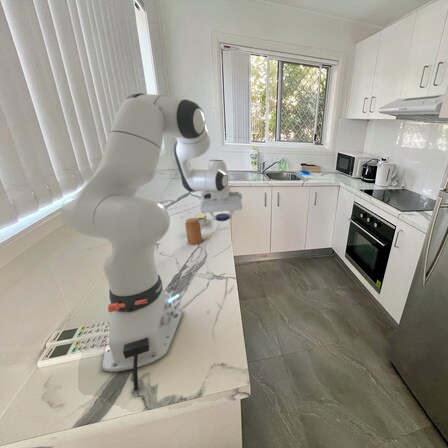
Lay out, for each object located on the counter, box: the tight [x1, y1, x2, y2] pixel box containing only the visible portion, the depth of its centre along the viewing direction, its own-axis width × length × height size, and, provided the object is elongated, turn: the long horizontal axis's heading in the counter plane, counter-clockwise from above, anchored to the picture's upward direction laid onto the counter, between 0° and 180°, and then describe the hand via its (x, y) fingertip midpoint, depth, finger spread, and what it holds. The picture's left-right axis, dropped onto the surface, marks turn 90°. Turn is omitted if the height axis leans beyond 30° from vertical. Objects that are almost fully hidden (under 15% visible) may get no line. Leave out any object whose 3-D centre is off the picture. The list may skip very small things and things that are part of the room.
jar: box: [184, 217, 203, 245], centre depth 117 cm, size 6×6×12 cm
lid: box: [215, 212, 230, 222], centre depth 125 cm, size 7×6×2 cm
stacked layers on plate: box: [194, 213, 211, 229], centre depth 138 cm, size 10×9×6 cm
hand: (222, 218), depth 125 cm, fingers closed on lid, 6 cm apart
